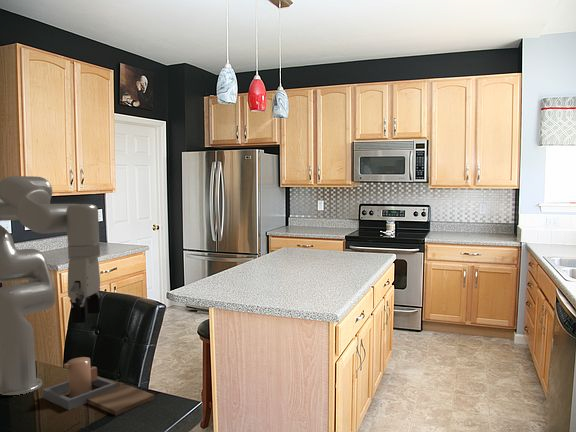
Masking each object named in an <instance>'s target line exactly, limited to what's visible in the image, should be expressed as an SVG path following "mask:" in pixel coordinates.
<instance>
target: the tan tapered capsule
mask: <svg viewBox="0 0 576 432" xmlns="http://www.w3.org/2000/svg"><path fill="white" fill-rule="evenodd" d="M63 369H66V370H67V381H68V386H69V391H68V398H73V397H76V396H78V395H81V394H84V393H87V392H89V391H92V390H93V387H92V386H93V385H91V382H92V381H95V380H98V379H97V376H98V368H97V366H92V365H91V358H90V357H86V356H80V357H75V358H71V359H70V360H68V361H67V362H66V363H64V364H63Z"/></svg>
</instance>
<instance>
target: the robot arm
mask: <svg viewBox="0 0 576 432" xmlns="http://www.w3.org/2000/svg"><path fill="white" fill-rule="evenodd" d="M52 197H53V187H52V185H51V183H50V181H48V179H46V178H44V177H42V176H32V175H31V176H27V175H25V176H24V175H23V176H22V175H19V176H18V175H11V176H7V177H3V178H1V179H0V222H7V221H19V222H20V224H21V225H23V227H25V228H27V229H28V230H30V231H31V232H35V233H38V234H43V235H45V234H54V233H66V235H67V236H66V237H67V256H68V257H67V258H68V265H67V297H68V298H69V302H70V308H71V321H72V323H73V324H84V323H86V322H87V314H89V315H90V314H100V313H101V293H100V290H101V275H100V273H101V272H100V266H99V265H100V264H99V258H100V257H101V251H100V250H101V247H100V246H101V245H100V227H99V226H100V225H99V223H100V222H99V209H98V206H97V205H96V204H93V203H51V199H52ZM22 280H27V282H19V283H13V284H8V285H5V286H4V285H3V286H2V287H0V394H2V395H19V396H21V395H20V394H23V395H26V393H27V394H29V392H30V393H32V392H34V390H35V391H36V390H38V389H39V388H41V387H42V385H43V380H42V379H41V378H39V377H37V372H36V371H37V370H36V369H37V368H36V353H35V351H36V350H35V335H34V328H33V326H32V324H31V322H30V321H28V320H27V318H26V317H25V315H29V314H33V313H37V312H43V311H45V310H49V309H51V308H52V307H53V306H54V304H55V302H56V300H57V294H56V289H55V285H54V281H53V278H52V275H51V273H50V269H49V265H48V262H47V259H46V257H45V256H44V254H43V253H42V252H41V251H40V250H38V249H37V248H22V249H19V248H18V249H17V247H16V246H15V242H14V239H13V236H12V234H11V233H10V232H9V231H8V230H7V229H6V228H5V227H3V226H2V225H1V224H0V283H1V284H2V283H3V284H4V283H10V282H16V281H17V282H18V281H22ZM85 302H86V305H87V307H86V306H85ZM86 310H87V311H86Z"/></svg>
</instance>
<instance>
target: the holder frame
mask: <svg viewBox="0 0 576 432" xmlns="http://www.w3.org/2000/svg"><path fill="white" fill-rule="evenodd" d="M97 379H98V380H95V381H92V382H91V386H94V387H97V388H94V389H92V391H89V392H87V393H84V394H81V395H78V396H76V397H73V398H69V396H66V395H64V393H66V392H69V386H68V380H67V381H63V382H60V383H57V384H55V385H52V386H49V387H46V388H43V389H42V398H43V399H44V400H46V401H49V402H51V403H53V404H54V405H57V406H59V407H61V408H63V409H66V410H67V411H71V410H73V409H76V408H78V407H81V406H83V405H86V404H88V403H87V399H88V398H91V397H93V396H96V395H99V394H101V393H104V392H107V391H109V390H112V389H115V388H117V387H118V383H117V382H114V381H112V380H109V379H106V378H103V377H101V376H99V375H97Z"/></svg>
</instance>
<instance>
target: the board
mask: <svg viewBox="0 0 576 432" xmlns="http://www.w3.org/2000/svg"><path fill="white" fill-rule="evenodd" d="M155 397H156V395H155V394H154V393H150V392H148V391H145V390H142V389H139V388H138V387H134V386H131V385H129V384H126V383H125V384H123V385H120V386H117V388H115V389H112V390H109V391H107V392H104V393H101V394H99V395H96V396H93V397H91V398H88V399H87V403H86V404H88V405H91V406H93V407H95V408H97V409H100V410H102V411H104V412H107V413H108V414H111V415H114V416H118V415H121V414H123V413H126V412H127V411H130V410H133V409H134V408H137V407H140V406H142V405H144V404H146V403H149V402H151V401H153V400H155V399H156V398H155Z"/></svg>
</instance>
